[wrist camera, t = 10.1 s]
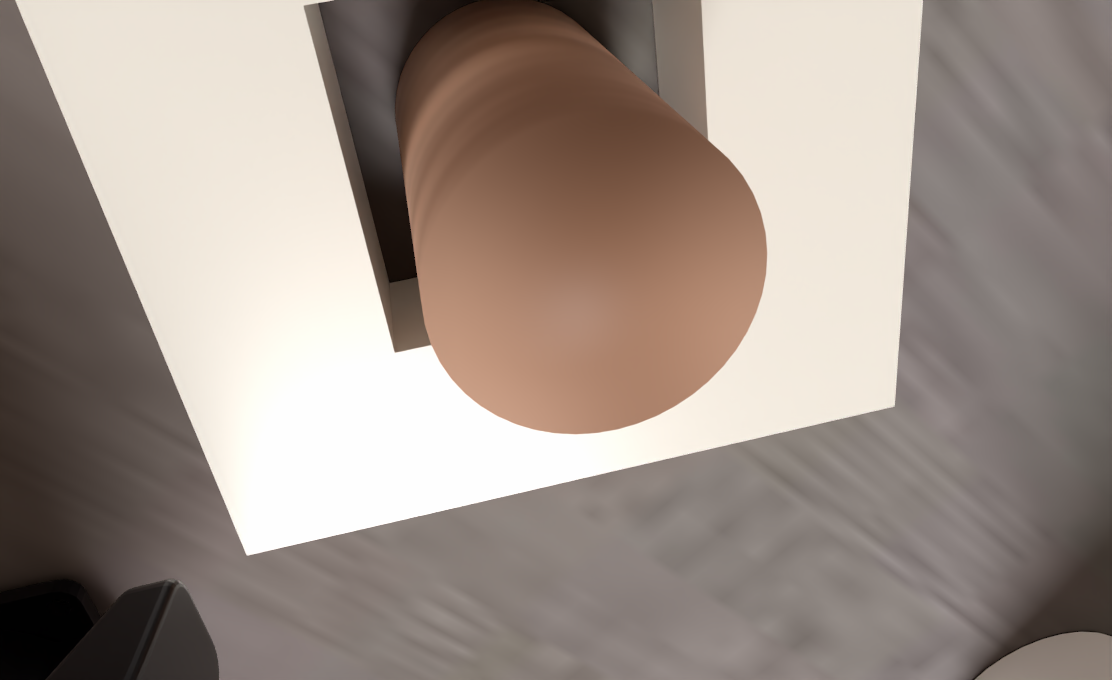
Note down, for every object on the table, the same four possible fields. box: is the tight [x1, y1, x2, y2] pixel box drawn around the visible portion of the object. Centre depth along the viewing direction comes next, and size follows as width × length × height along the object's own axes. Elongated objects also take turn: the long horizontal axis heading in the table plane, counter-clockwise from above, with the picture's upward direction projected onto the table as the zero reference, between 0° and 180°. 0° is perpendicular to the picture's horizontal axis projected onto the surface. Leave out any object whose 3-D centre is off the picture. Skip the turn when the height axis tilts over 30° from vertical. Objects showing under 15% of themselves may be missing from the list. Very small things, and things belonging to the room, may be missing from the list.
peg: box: [395, 0, 767, 434], centre depth 15 cm, size 4×4×8 cm
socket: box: [15, 0, 923, 555], centre depth 17 cm, size 14×14×3 cm
